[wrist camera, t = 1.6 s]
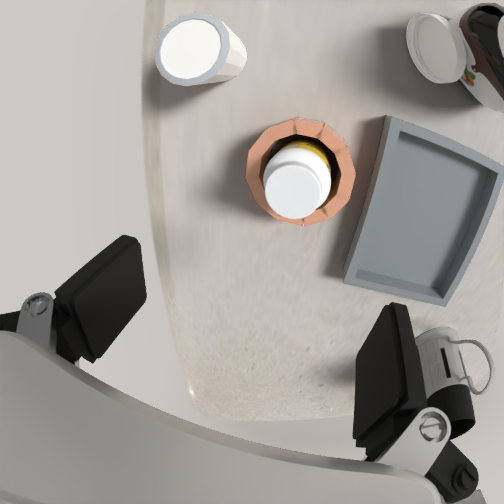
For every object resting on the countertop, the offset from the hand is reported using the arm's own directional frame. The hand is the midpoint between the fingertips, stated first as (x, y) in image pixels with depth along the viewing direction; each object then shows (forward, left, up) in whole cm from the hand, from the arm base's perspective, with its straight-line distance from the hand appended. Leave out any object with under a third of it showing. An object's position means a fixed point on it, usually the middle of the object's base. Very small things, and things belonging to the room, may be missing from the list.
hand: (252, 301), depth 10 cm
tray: (+2, +14, -21) cm, 25 cm away
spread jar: (-16, +14, -21) cm, 30 cm away
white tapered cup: (-10, -10, -21) cm, 25 cm away
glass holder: (+18, +26, -21) cm, 38 cm away
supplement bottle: (0, 0, -21) cm, 21 cm away
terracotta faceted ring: (0, 0, -21) cm, 21 cm away
